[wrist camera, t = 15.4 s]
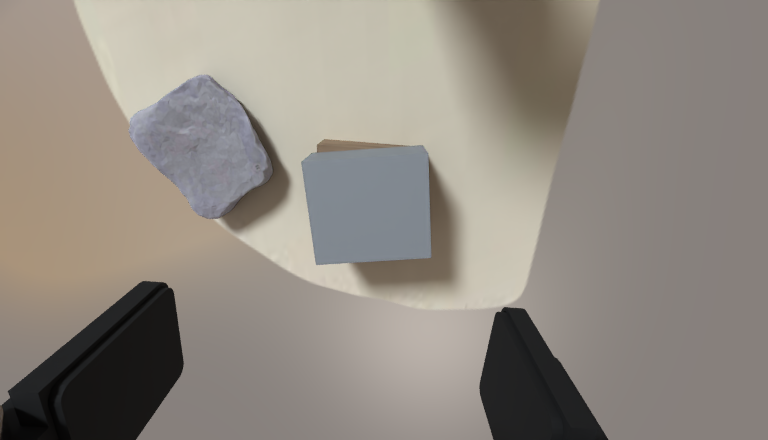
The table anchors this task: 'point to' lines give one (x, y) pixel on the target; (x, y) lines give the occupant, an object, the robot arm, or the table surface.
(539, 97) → the table surface
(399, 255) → the tower top
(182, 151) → the stone block
